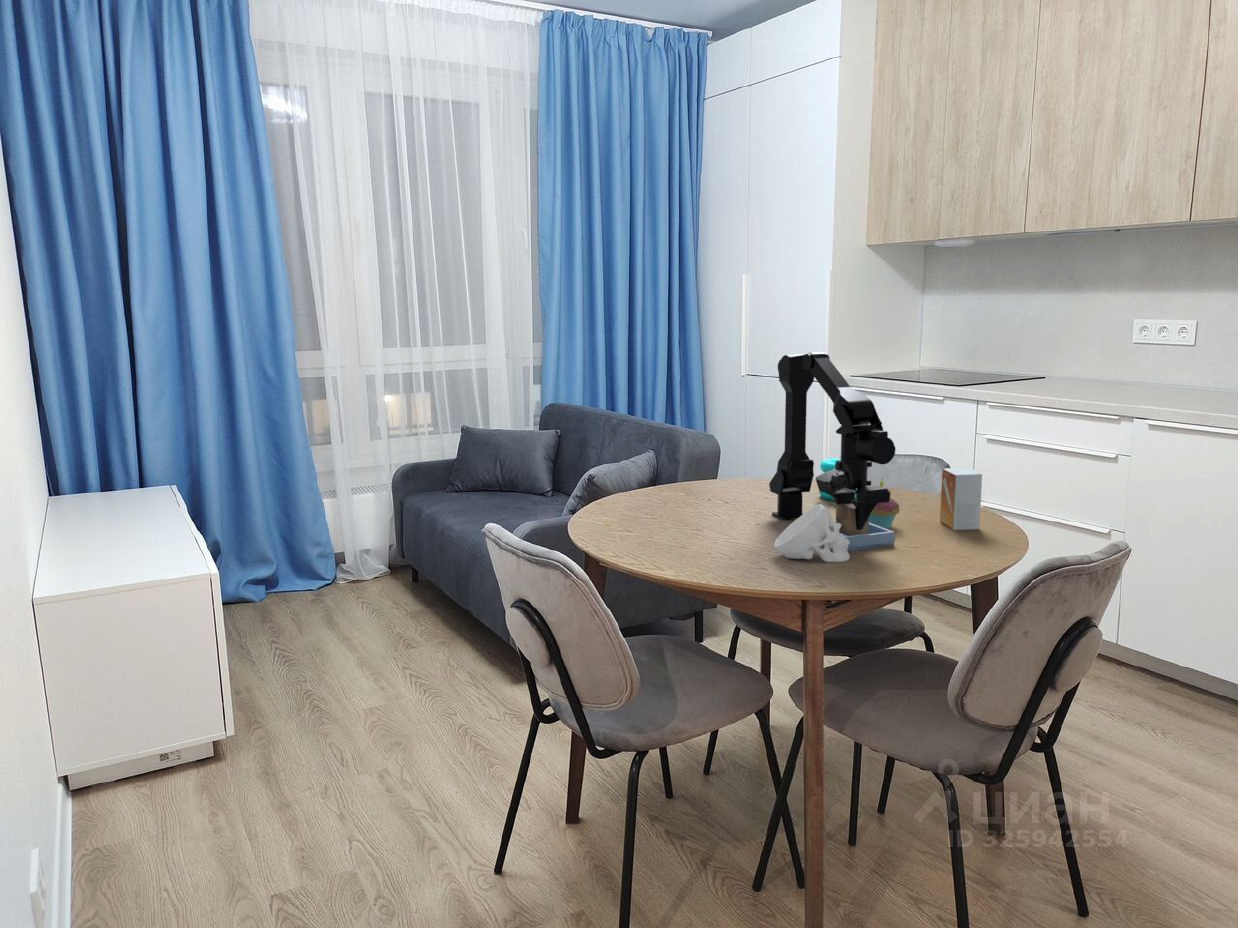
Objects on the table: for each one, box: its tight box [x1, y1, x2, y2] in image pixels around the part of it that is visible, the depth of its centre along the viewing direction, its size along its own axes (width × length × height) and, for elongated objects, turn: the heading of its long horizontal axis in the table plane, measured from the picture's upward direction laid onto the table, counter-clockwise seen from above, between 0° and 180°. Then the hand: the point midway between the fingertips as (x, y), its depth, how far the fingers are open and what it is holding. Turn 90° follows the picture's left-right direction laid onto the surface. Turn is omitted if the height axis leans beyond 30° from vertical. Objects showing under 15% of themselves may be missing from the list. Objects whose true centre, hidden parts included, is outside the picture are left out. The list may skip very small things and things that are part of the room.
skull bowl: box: [773, 503, 851, 563], centre depth 188 cm, size 10×14×12 cm
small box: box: [939, 467, 983, 531], centre depth 211 cm, size 8×6×13 cm
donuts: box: [819, 457, 857, 501], centre depth 242 cm, size 10×10×10 cm
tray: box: [843, 523, 896, 553], centre depth 199 cm, size 12×14×3 cm
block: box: [835, 503, 869, 536], centre depth 198 cm, size 5×5×6 cm
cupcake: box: [869, 477, 901, 530], centre depth 211 cm, size 9×8×12 cm
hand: (852, 526), depth 199 cm, fingers closed on block, 5 cm apart
